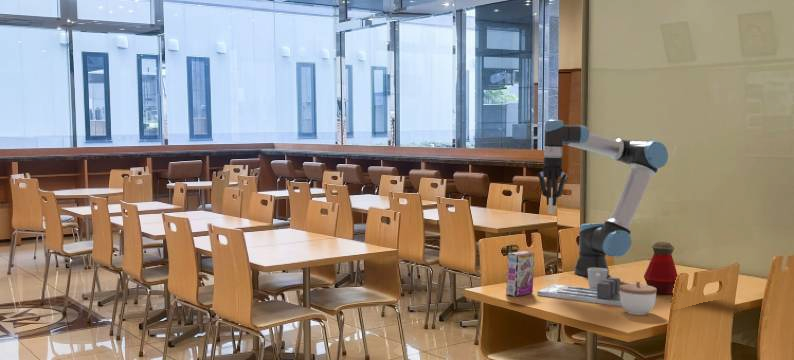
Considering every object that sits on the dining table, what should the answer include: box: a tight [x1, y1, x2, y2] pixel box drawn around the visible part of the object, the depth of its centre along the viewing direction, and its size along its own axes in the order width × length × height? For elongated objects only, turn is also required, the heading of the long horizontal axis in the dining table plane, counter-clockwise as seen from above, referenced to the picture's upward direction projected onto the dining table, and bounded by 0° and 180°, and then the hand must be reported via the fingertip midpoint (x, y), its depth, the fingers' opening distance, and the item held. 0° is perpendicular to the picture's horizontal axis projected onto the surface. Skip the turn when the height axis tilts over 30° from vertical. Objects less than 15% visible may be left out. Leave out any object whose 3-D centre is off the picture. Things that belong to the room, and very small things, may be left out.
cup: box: [587, 268, 608, 289], centre depth 317 cm, size 11×8×8 cm
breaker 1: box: [597, 282, 611, 299], centre depth 292 cm, size 4×4×5 cm
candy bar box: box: [505, 250, 535, 298], centre depth 303 cm, size 11×5×16 cm, turn 134°
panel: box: [536, 283, 622, 307], centre depth 301 cm, size 18×34×2 cm, turn 58°
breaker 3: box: [607, 276, 621, 293], centre depth 302 cm, size 4×4×5 cm
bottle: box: [643, 241, 679, 296], centre depth 313 cm, size 16×14×20 cm
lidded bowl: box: [619, 281, 657, 316], centre depth 275 cm, size 13×13×11 cm
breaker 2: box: [602, 278, 615, 296], centre depth 297 cm, size 4×4×5 cm
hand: (551, 213), depth 328 cm, fingers closed
